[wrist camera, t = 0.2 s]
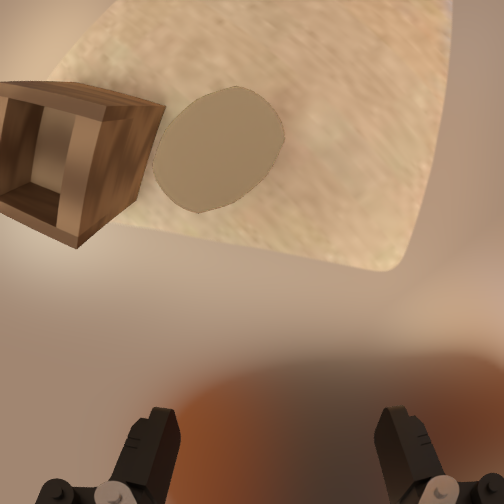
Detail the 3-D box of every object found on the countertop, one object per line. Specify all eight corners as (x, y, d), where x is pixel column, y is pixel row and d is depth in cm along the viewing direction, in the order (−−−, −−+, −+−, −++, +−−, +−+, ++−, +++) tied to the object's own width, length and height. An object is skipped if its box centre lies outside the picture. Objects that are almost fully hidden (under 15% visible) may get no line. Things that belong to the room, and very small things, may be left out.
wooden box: (75, 82, 25) (-4, 82, 14) (165, 106, 26) (106, 106, 15) (55, 169, 29) (-19, 202, 18) (136, 200, 30) (76, 249, 19)
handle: (283, 129, 27) (305, 145, 13) (231, 173, 29) (202, 231, 15) (248, 90, 25) (233, 66, 12) (196, 136, 27) (134, 161, 14)
